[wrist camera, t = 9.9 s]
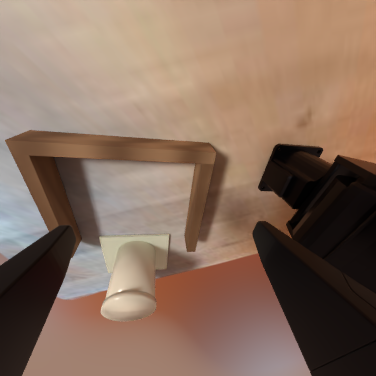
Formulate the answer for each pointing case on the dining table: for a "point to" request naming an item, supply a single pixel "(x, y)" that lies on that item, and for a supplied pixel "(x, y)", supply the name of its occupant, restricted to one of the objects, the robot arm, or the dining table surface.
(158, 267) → the pad
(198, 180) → the cradle
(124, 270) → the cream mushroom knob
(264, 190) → the robot arm
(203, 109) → the dining table surface
